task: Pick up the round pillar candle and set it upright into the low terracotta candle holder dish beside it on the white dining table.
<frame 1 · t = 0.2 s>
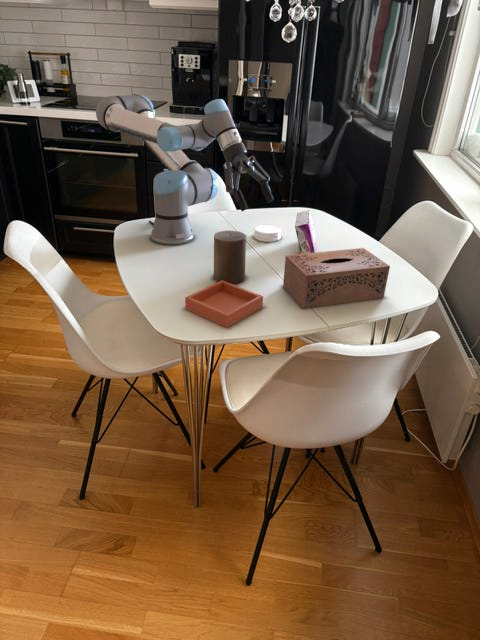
hand: (258, 205, 164), 16 cm above the table, tool tilted 35°, fingers open, 13 cm apart
pillar candle: (229, 278, 150), on the table
candy bar box: (304, 240, 164), point 6 cm above the table
tissue box cover: (332, 292, 143), on the table
holder: (224, 308, 133), on the table
coaster: (267, 238, 182), on the table
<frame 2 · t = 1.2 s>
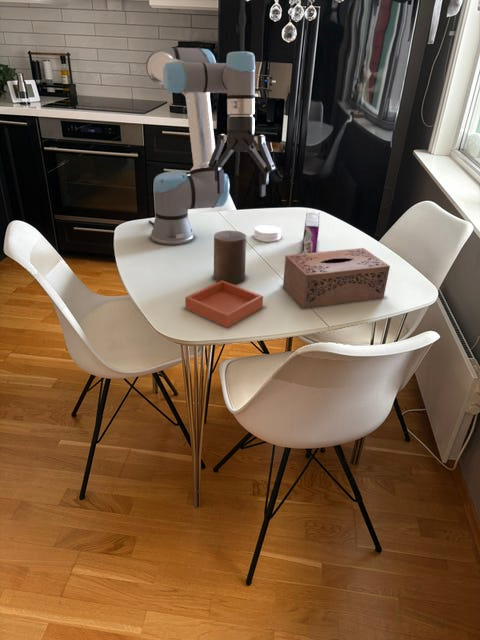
hand: (241, 194, 142), 25 cm above the table, tool pointing down, fingers open, 13 cm apart
candy bar box: (309, 241, 164), point 6 cm above the table
everything else where it was.
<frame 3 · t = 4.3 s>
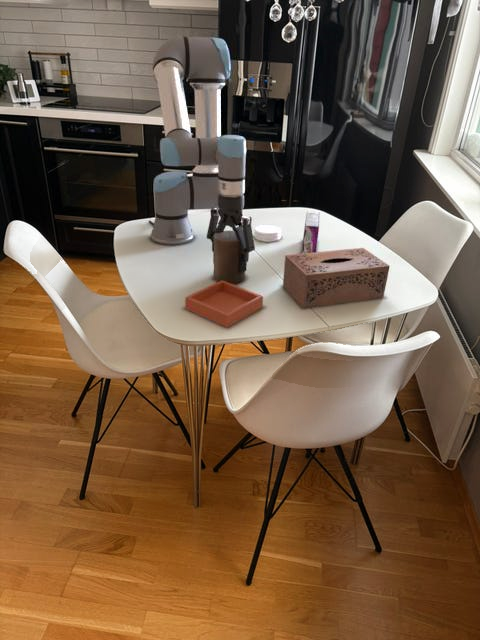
hand: (229, 266, 148), 4 cm above the table, tool pointing down, fingers closed on pillar candle, 10 cm apart
pillar candle: (229, 278, 150), on the table, touching gripper
everything else where it was.
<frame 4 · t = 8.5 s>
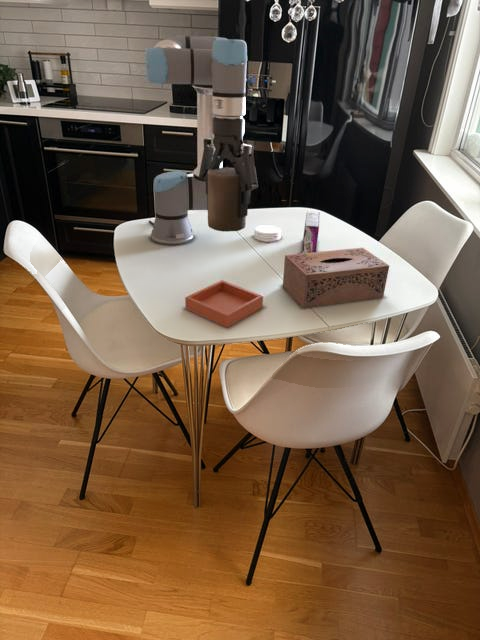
hand: (226, 212, 122), 26 cm above the table, tool pointing down, fingers closed on pillar candle, 10 cm apart
pillar candle: (226, 226, 124), point 22 cm above the table, touching gripper
everything else where it was.
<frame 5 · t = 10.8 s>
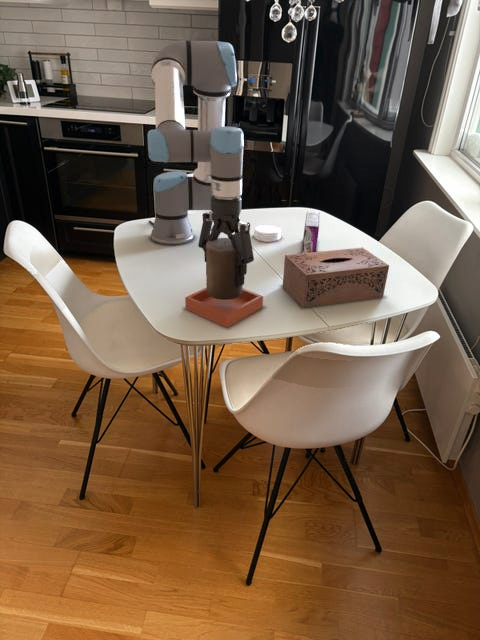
hand: (224, 279, 128), 9 cm above the table, tool pointing down, fingers closed on pillar candle, 10 cm apart
pillar candle: (224, 292, 130), point 5 cm above the table, touching gripper
everything else where it was.
when the fingers open (5 cm above the table, at t = 12.5 s): pillar candle stays where it is, resting on holder.
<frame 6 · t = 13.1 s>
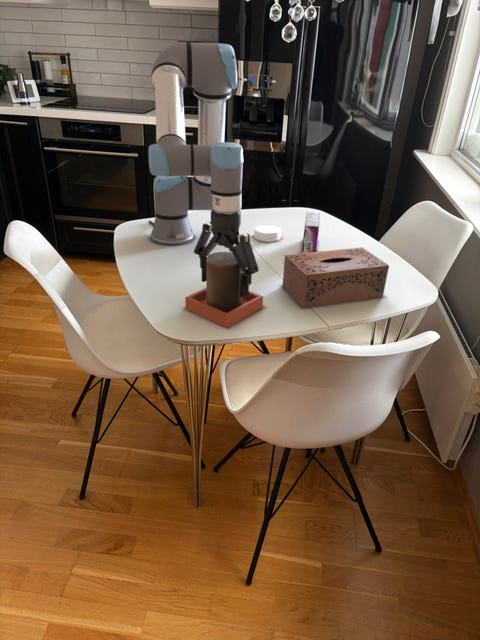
hand: (224, 287, 130), 6 cm above the table, tool pointing down, fingers open, 13 cm apart
pillar candle: (224, 305, 132), point 1 cm above the table, touching holder
everything else where it was.
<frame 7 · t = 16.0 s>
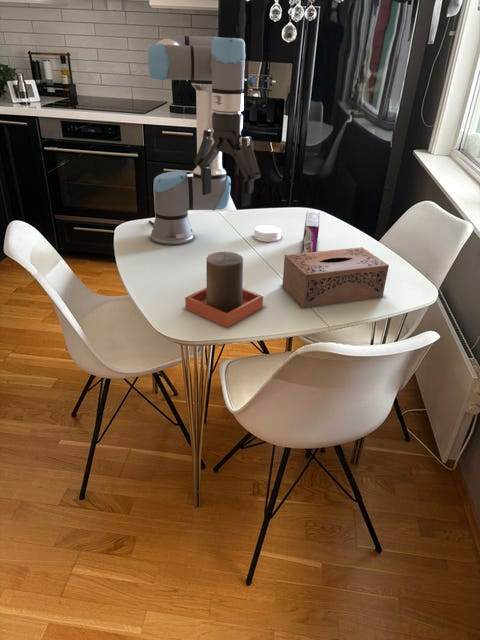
hand: (225, 199, 127), 27 cm above the table, tool pointing down, fingers open, 13 cm apart
nothing on the table moved.
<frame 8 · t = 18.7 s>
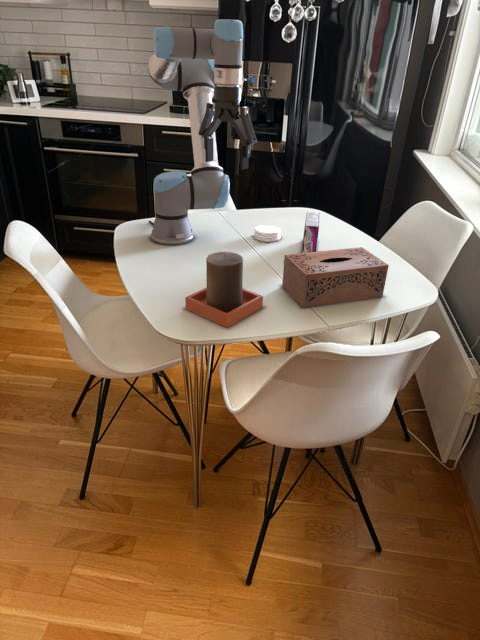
hand: (226, 165, 143), 32 cm above the table, tool pointing down, fingers open, 13 cm apart
nothing on the table moved.
at the end: pillar candle 0.1 cm off-centre in the holder, point 0.8 cm above the holder's base; pillar candle tilted 0°; the gripper is holding nothing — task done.
